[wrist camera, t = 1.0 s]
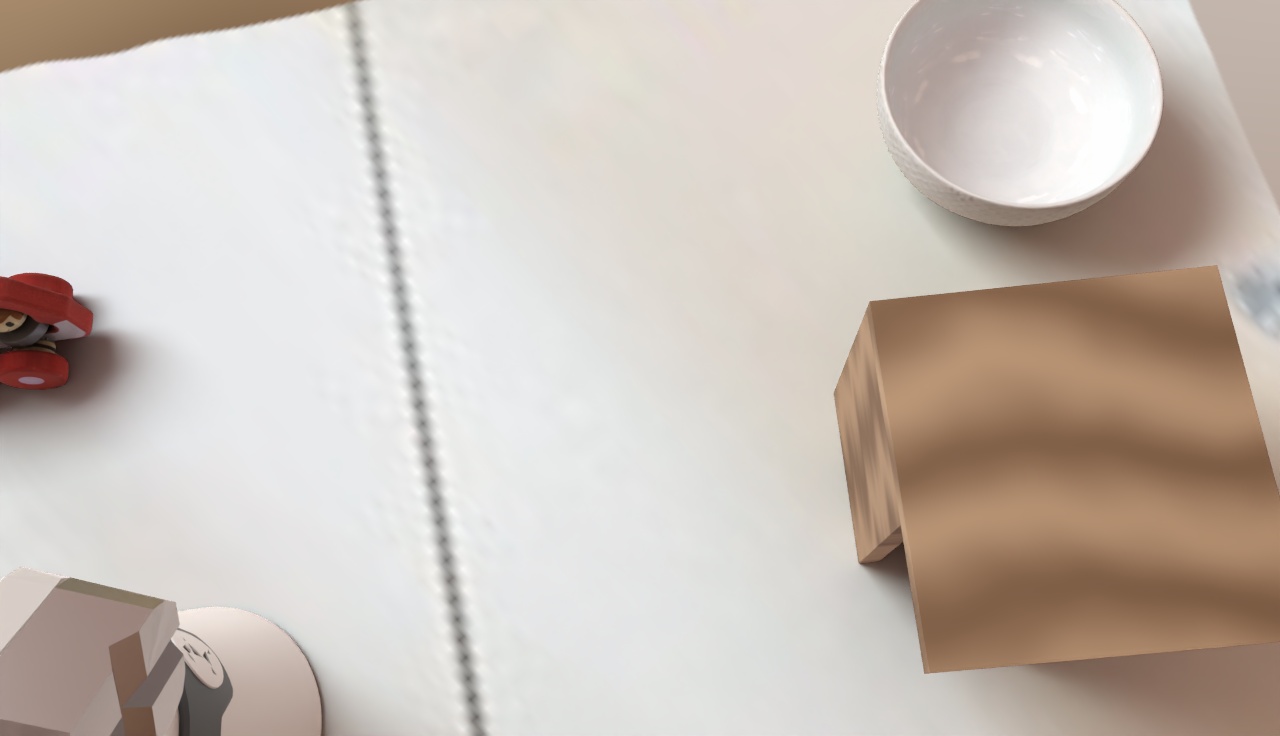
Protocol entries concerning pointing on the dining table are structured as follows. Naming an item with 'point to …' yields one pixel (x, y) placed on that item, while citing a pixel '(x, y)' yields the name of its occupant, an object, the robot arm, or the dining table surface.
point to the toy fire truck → (38, 329)
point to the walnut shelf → (1064, 469)
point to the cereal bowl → (1018, 104)
